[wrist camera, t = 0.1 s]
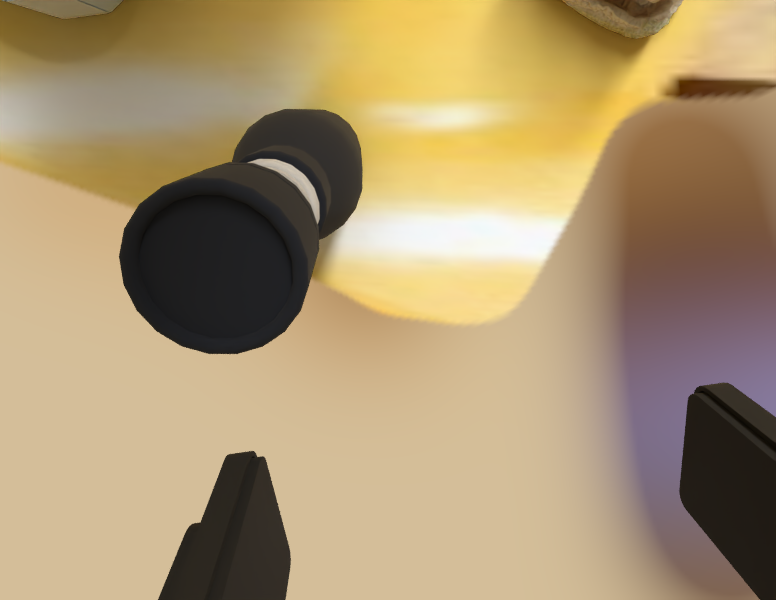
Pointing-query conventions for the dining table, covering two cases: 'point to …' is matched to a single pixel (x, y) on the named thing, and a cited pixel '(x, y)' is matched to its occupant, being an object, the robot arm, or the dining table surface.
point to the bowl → (69, 7)
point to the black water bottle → (243, 233)
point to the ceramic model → (627, 14)
